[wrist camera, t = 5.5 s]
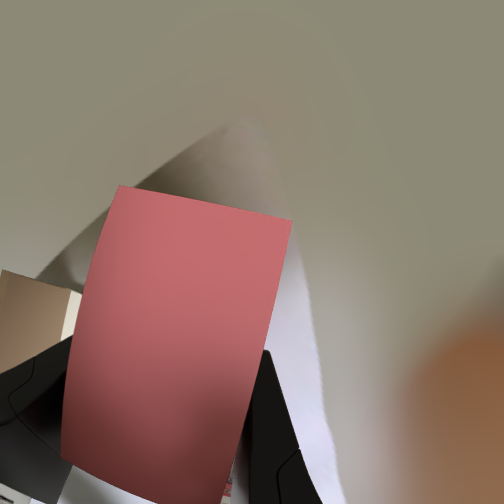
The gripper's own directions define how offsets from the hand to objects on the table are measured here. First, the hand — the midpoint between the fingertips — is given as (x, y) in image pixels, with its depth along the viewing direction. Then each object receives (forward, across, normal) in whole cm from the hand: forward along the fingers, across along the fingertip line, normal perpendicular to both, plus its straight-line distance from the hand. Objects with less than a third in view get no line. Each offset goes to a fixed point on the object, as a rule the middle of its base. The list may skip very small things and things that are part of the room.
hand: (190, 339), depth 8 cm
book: (+4, 0, +5) cm, 7 cm away
